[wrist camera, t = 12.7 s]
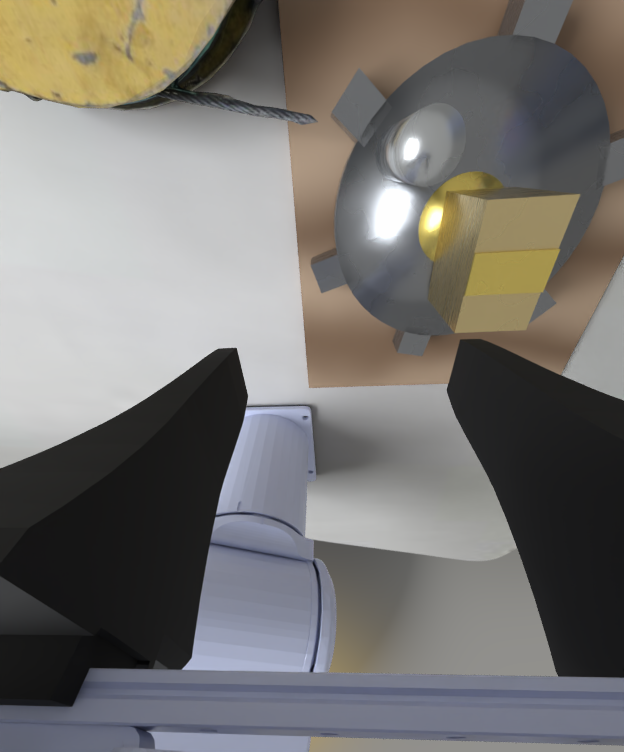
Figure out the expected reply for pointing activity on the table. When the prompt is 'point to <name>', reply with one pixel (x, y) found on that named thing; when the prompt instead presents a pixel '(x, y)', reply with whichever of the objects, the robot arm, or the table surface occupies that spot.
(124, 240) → the table surface
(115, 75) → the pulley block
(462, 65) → the grey lugged dome
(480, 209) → the yellow-banded wooden block
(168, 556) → the robot arm
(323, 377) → the light brown board
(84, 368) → the table surface
